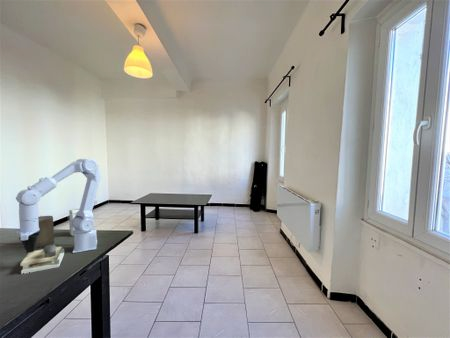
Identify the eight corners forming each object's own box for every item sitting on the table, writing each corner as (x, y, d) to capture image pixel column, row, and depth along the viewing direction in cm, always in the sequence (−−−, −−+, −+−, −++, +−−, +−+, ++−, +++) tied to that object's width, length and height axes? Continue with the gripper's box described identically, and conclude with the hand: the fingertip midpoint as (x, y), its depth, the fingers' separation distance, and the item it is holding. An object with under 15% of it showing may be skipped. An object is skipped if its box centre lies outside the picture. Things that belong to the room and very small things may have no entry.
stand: (64, 254, 99) (64, 248, 99) (58, 266, 88) (58, 260, 88) (31, 259, 94) (31, 253, 93) (21, 274, 82) (21, 267, 82)
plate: (62, 248, 98) (62, 237, 98) (57, 259, 88) (57, 247, 88) (30, 253, 93) (29, 242, 93) (20, 266, 82) (19, 253, 82)
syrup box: (81, 231, 129) (80, 207, 128) (84, 234, 125) (83, 209, 124) (69, 234, 124) (68, 209, 124) (72, 236, 121) (72, 211, 120)
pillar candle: (59, 241, 114) (57, 213, 114) (41, 248, 105) (40, 218, 104) (42, 240, 115) (41, 213, 115) (23, 248, 106) (22, 218, 105)
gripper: (22, 216, 92) (23, 247, 93) (8, 225, 79) (10, 261, 80) (43, 214, 95) (44, 243, 96) (33, 222, 83) (35, 257, 83)
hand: (30, 251), depth 88 cm, fingers closed
